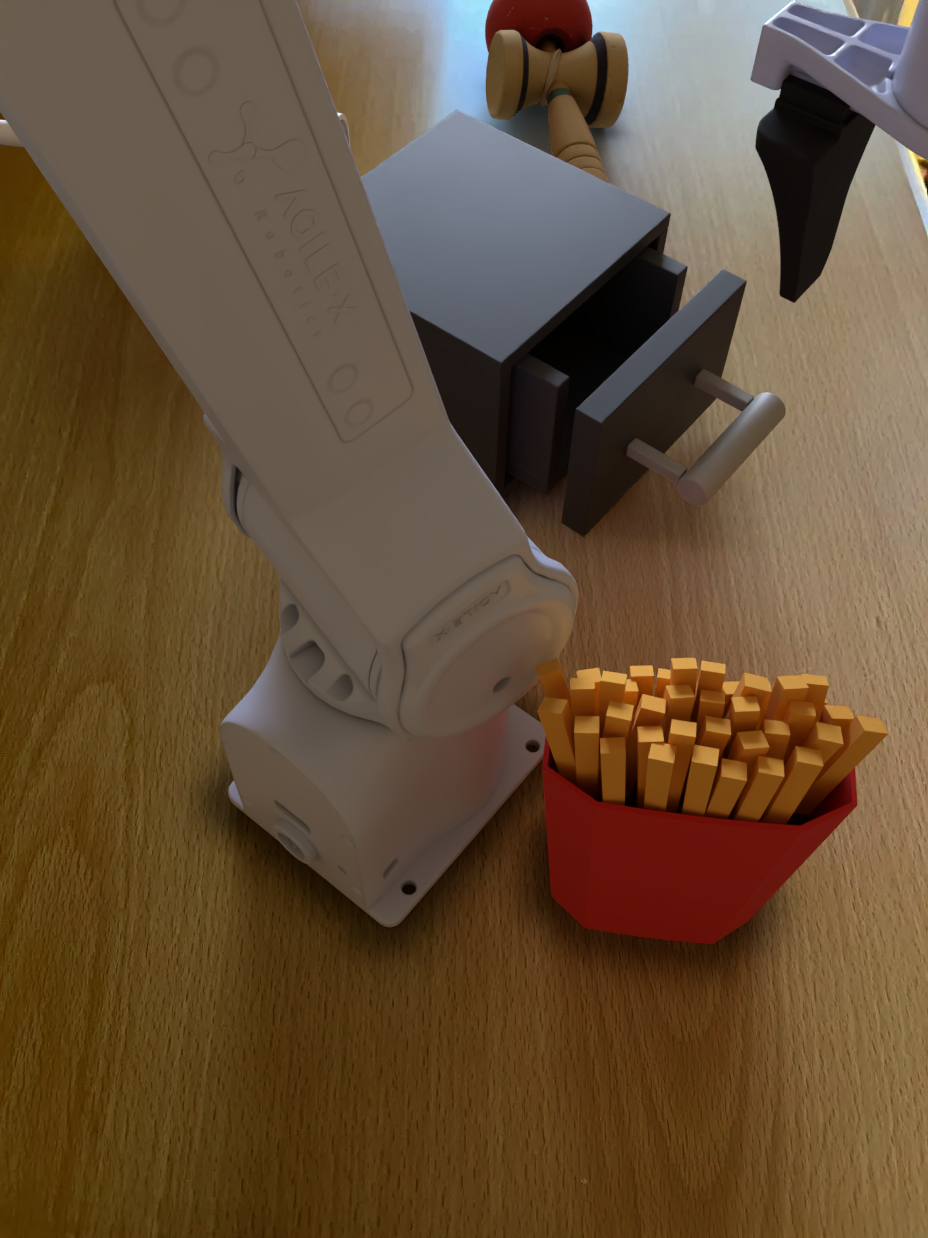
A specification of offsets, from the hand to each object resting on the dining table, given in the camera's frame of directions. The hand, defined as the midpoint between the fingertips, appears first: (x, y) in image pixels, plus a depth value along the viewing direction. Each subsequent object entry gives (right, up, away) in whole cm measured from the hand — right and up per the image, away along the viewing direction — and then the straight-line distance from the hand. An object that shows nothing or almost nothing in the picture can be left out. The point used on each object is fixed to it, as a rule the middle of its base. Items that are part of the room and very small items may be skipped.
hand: (892, 330), depth 43 cm
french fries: (-9, -20, -2) cm, 22 cm away
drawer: (-10, -2, +9) cm, 14 cm away
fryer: (-15, +1, +12) cm, 19 cm away
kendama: (-10, +15, +22) cm, 29 cm away
